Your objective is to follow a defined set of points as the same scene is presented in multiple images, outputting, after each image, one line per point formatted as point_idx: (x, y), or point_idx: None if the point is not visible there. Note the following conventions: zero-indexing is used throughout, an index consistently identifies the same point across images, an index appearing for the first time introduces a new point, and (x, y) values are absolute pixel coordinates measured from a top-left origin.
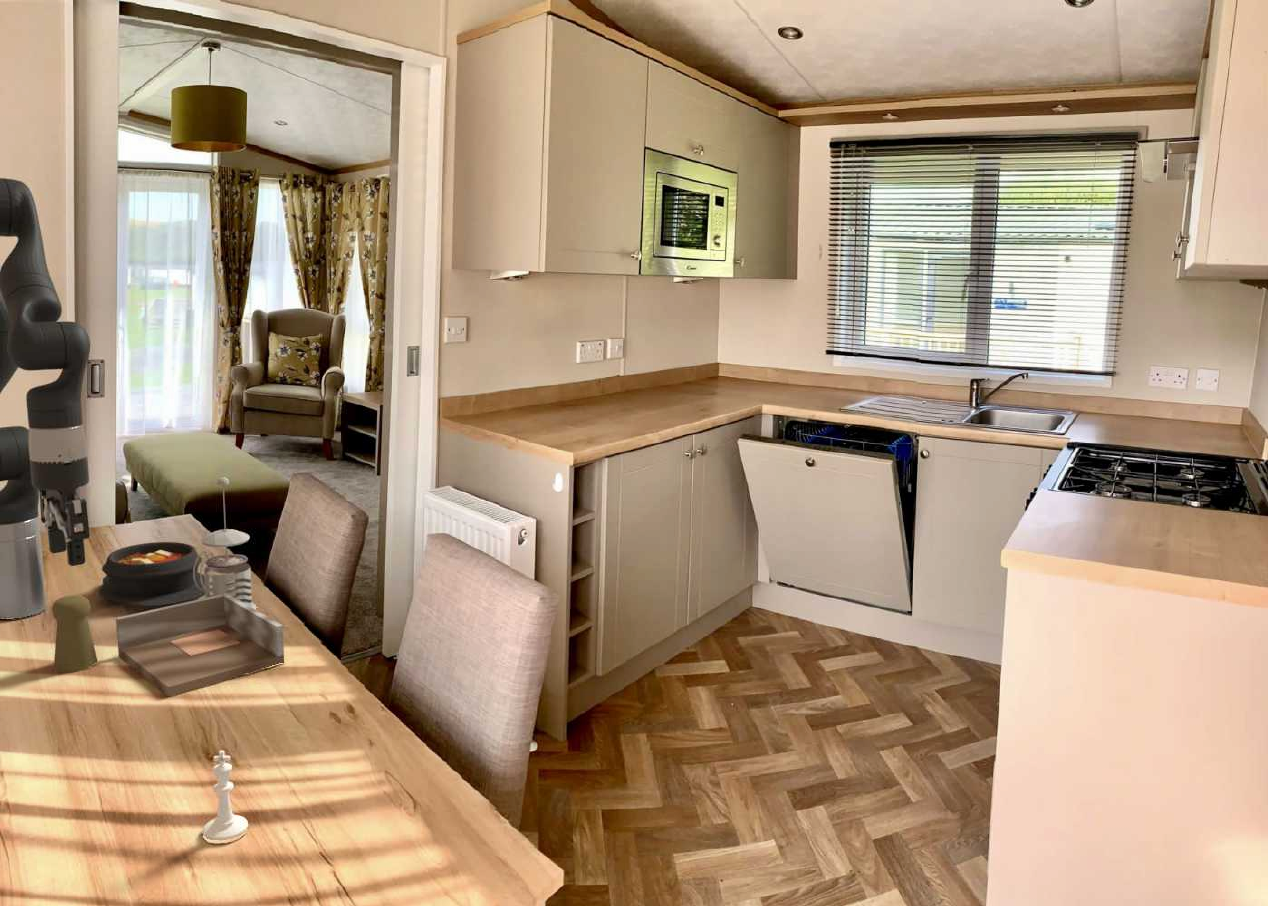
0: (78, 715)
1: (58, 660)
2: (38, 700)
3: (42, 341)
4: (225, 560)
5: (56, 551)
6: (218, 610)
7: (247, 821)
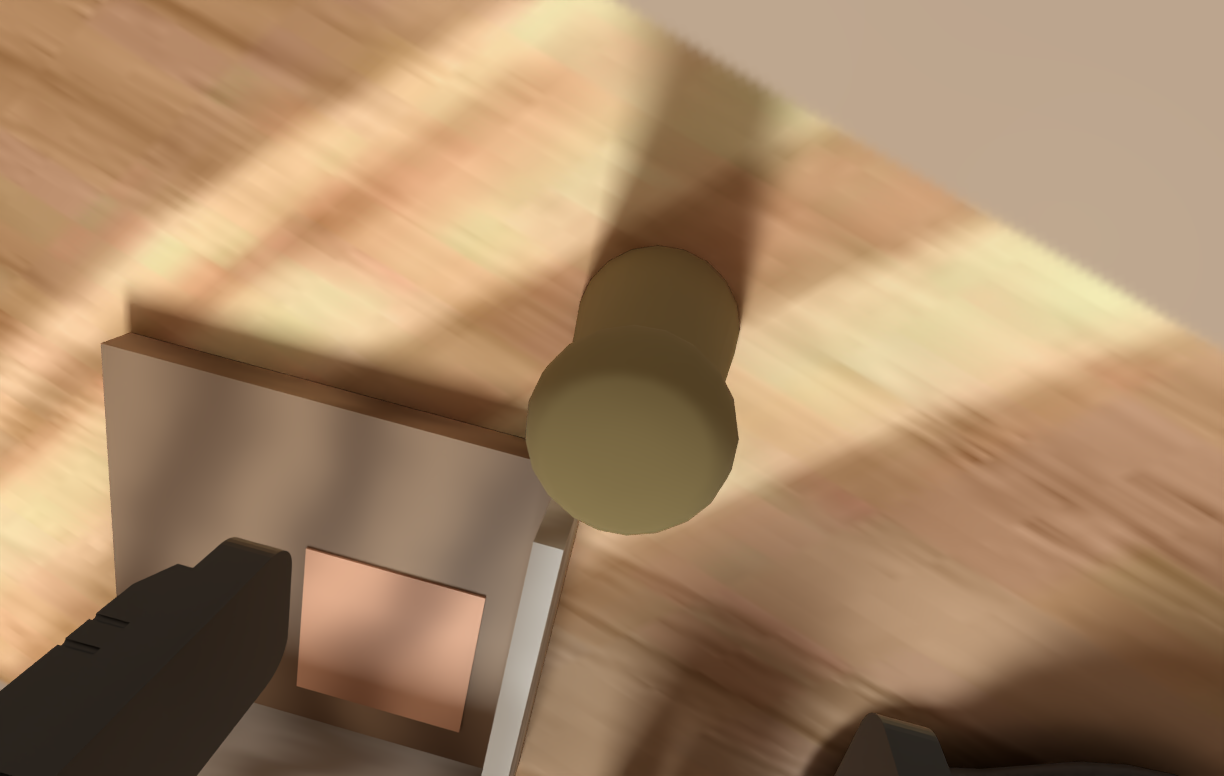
0: (183, 48)
1: (647, 261)
2: (429, 27)
3: None
4: None
5: (857, 753)
6: None
7: None
